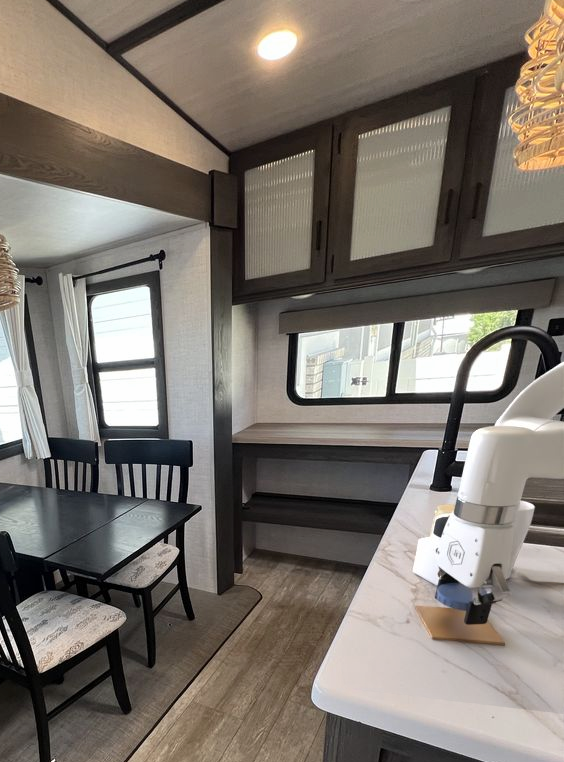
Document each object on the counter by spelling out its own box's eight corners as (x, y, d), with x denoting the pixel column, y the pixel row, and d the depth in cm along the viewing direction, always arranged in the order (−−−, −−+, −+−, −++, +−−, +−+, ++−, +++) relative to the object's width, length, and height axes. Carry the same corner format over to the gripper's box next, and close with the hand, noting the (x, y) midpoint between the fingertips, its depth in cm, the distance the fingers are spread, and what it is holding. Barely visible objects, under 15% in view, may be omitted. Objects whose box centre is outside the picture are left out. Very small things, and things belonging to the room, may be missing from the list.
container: (476, 583, 91) (493, 520, 86) (441, 589, 90) (455, 526, 85) (444, 566, 98) (457, 508, 93) (411, 572, 97) (422, 513, 92)
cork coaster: (480, 612, 82) (480, 609, 82) (504, 645, 73) (505, 642, 73) (415, 607, 85) (415, 605, 85) (431, 639, 76) (432, 636, 76)
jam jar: (457, 541, 108) (466, 503, 104) (469, 553, 102) (478, 514, 99) (424, 540, 110) (431, 503, 106) (433, 552, 104) (441, 513, 101)
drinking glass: (476, 565, 97) (493, 496, 91) (517, 574, 93) (538, 502, 86) (467, 577, 93) (484, 506, 87) (509, 587, 89) (531, 512, 82)
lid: (435, 606, 76) (437, 598, 76) (435, 587, 82) (437, 579, 81) (491, 615, 73) (493, 607, 72) (487, 594, 78) (489, 586, 78)
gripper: (426, 495, 79) (407, 587, 86) (500, 533, 63) (470, 642, 70) (472, 492, 79) (449, 585, 86) (558, 529, 63) (522, 639, 70)
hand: (459, 610), depth 78 cm, fingers closed on lid, 7 cm apart
